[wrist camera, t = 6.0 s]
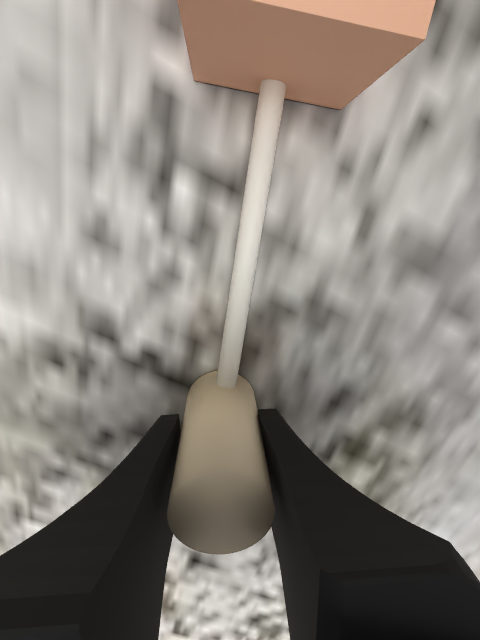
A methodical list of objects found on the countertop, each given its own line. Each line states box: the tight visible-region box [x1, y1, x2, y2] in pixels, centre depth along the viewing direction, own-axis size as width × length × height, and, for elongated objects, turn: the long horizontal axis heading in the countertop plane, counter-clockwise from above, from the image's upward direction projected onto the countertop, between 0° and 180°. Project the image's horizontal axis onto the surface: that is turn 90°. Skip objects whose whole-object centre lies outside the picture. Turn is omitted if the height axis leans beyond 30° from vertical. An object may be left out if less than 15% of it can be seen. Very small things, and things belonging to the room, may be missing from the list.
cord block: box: [167, 0, 436, 554], centre depth 9 cm, size 4×16×5 cm, turn 171°
